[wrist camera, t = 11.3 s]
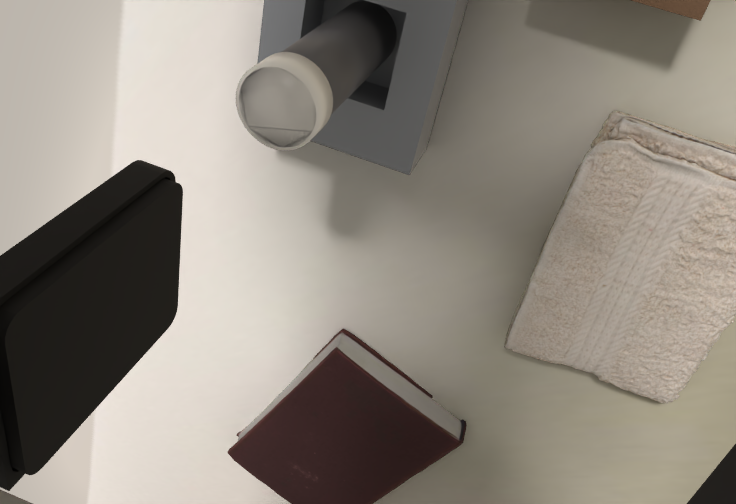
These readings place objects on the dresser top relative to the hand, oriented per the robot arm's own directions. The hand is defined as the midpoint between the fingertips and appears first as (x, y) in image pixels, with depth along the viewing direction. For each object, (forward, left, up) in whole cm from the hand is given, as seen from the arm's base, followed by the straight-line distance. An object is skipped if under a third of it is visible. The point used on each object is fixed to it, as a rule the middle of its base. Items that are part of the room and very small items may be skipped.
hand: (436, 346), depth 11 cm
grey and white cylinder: (+6, -10, -29) cm, 32 cm away
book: (+40, -5, -31) cm, 51 cm away
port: (+6, -10, -30) cm, 32 cm away
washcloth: (+15, +10, -31) cm, 36 cm away
